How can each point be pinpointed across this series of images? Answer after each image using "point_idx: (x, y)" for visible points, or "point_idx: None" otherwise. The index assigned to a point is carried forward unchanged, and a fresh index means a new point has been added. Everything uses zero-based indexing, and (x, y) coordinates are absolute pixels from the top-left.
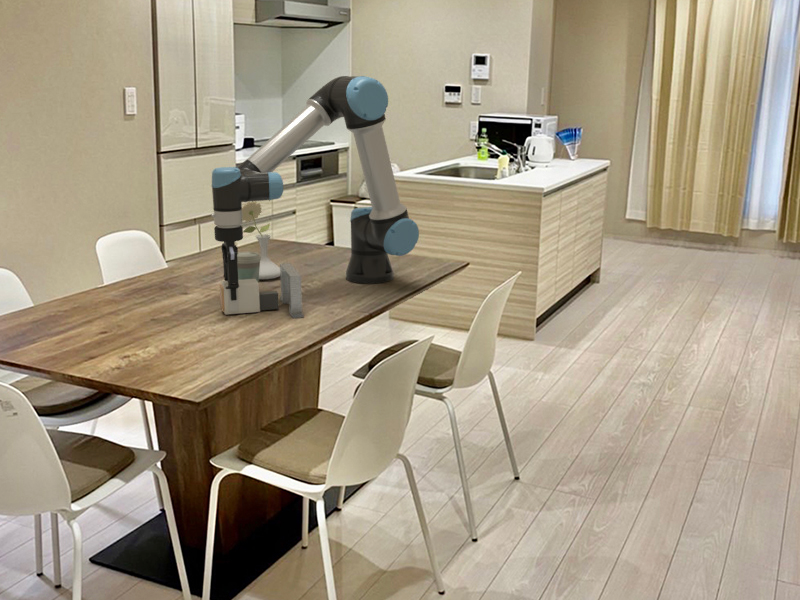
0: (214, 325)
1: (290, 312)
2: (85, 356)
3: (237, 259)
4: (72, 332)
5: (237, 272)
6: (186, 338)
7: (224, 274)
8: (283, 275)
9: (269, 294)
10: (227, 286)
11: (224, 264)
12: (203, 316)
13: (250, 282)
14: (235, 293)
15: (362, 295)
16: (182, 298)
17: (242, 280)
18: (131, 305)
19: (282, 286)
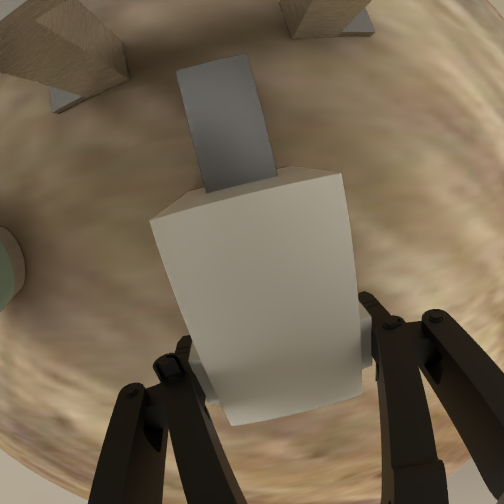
0: (418, 317)
1: (325, 33)
2: None
3: (445, 485)
4: (363, 496)
5: (497, 368)
6: None
7: (166, 436)
8: (57, 27)
9: (259, 106)
10: (360, 376)
11: (159, 491)
12: None
13: (292, 248)
14: (384, 312)
15: None
16: (105, 431)
17: (216, 319)
18: None
19: (93, 55)
